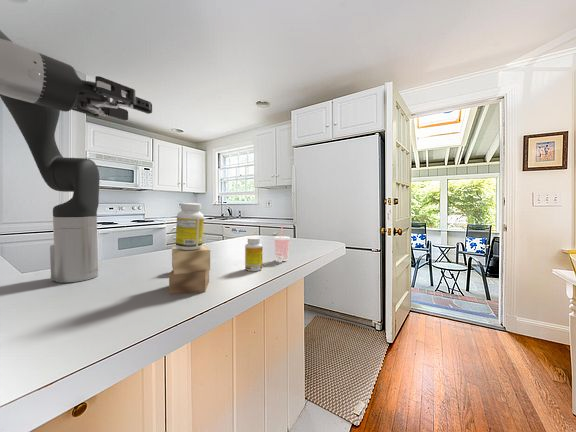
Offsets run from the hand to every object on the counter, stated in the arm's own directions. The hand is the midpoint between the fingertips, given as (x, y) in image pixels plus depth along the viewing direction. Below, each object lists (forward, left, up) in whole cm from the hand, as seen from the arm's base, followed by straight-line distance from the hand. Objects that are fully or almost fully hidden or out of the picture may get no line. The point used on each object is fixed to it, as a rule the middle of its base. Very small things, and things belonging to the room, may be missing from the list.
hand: (138, 112), depth 52 cm
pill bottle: (+7, +8, -30) cm, 32 cm away
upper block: (+7, +9, -35) cm, 37 cm away
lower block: (+7, +9, -40) cm, 42 cm away
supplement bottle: (+21, +26, -40) cm, 52 cm away
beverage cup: (+30, +39, -40) cm, 64 cm away
